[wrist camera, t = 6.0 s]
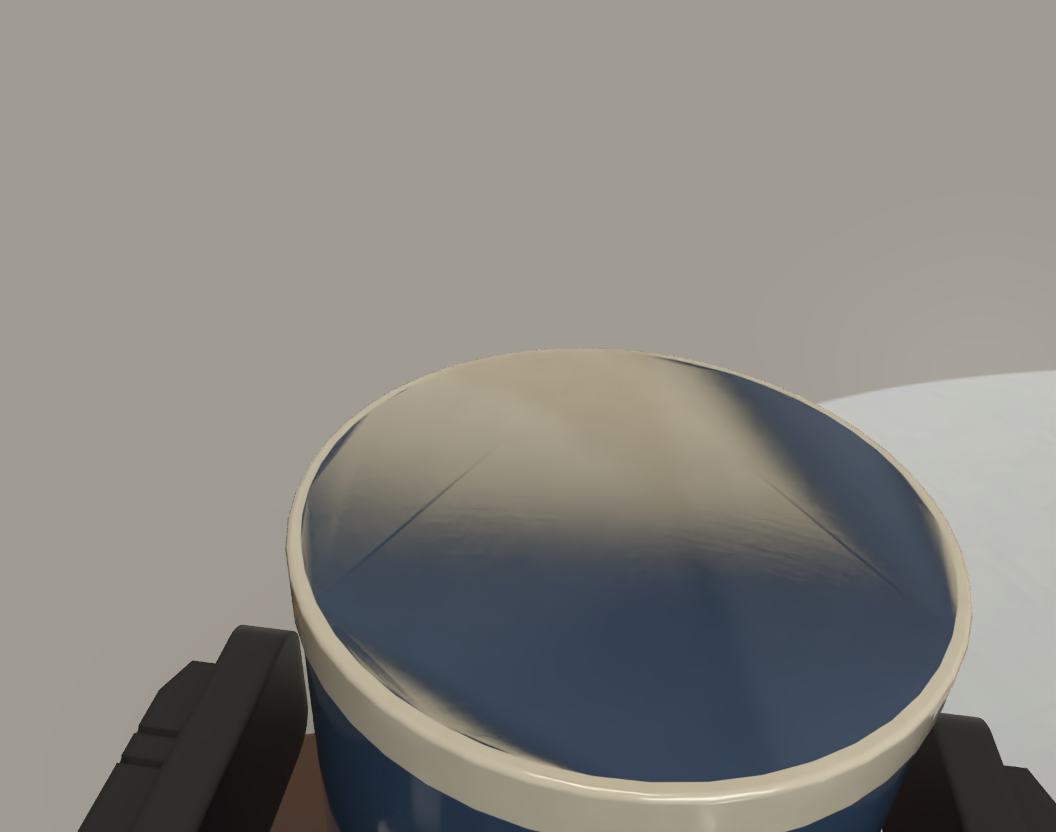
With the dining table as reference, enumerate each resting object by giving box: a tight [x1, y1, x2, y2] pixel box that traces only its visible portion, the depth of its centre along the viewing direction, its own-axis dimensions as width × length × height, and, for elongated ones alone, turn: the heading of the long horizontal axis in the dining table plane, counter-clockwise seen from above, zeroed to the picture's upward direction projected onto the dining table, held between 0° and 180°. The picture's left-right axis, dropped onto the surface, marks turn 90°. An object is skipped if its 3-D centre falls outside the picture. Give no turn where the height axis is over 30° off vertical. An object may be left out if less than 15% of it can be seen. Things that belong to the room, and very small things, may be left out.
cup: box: [286, 348, 972, 832], centre depth 11 cm, size 6×6×10 cm
